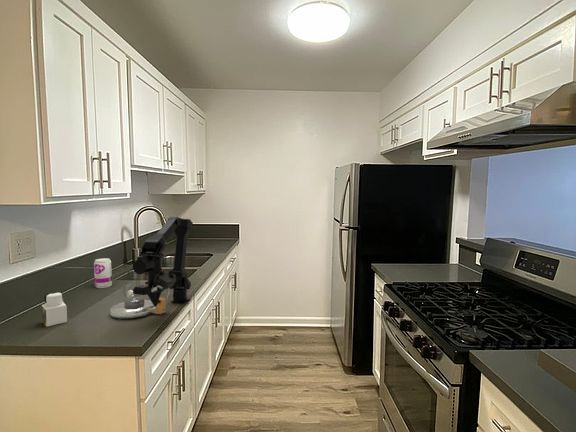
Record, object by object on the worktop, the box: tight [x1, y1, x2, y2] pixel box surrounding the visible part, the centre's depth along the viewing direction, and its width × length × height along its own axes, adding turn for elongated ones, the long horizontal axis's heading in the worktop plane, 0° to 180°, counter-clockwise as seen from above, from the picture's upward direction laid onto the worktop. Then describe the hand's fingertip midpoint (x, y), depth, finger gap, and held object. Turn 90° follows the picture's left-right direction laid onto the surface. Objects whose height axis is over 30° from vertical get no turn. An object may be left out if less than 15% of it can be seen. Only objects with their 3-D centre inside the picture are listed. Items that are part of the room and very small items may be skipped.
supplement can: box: [93, 257, 113, 289], centre depth 190 cm, size 8×8×15 cm
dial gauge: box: [126, 289, 139, 298], centre depth 164 cm, size 4×4×6 cm
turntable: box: [109, 297, 166, 319], centre depth 151 cm, size 23×18×6 cm
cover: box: [123, 296, 145, 309], centre depth 151 cm, size 8×8×4 cm
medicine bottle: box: [41, 291, 68, 328], centre depth 140 cm, size 7×7×12 cm
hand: (155, 305), depth 146 cm, fingers closed
